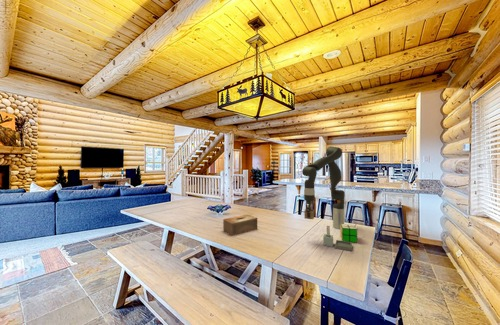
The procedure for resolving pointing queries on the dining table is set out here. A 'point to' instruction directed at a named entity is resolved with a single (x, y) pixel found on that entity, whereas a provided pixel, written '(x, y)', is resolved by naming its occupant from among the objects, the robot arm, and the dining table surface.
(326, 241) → the slate block
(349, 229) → the puzzle cube
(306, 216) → the brown cardboard cube
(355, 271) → the dining table surface
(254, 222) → the tissue box cover
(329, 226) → the cylinder
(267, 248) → the dining table surface
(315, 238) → the dining table surface
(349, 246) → the tray
